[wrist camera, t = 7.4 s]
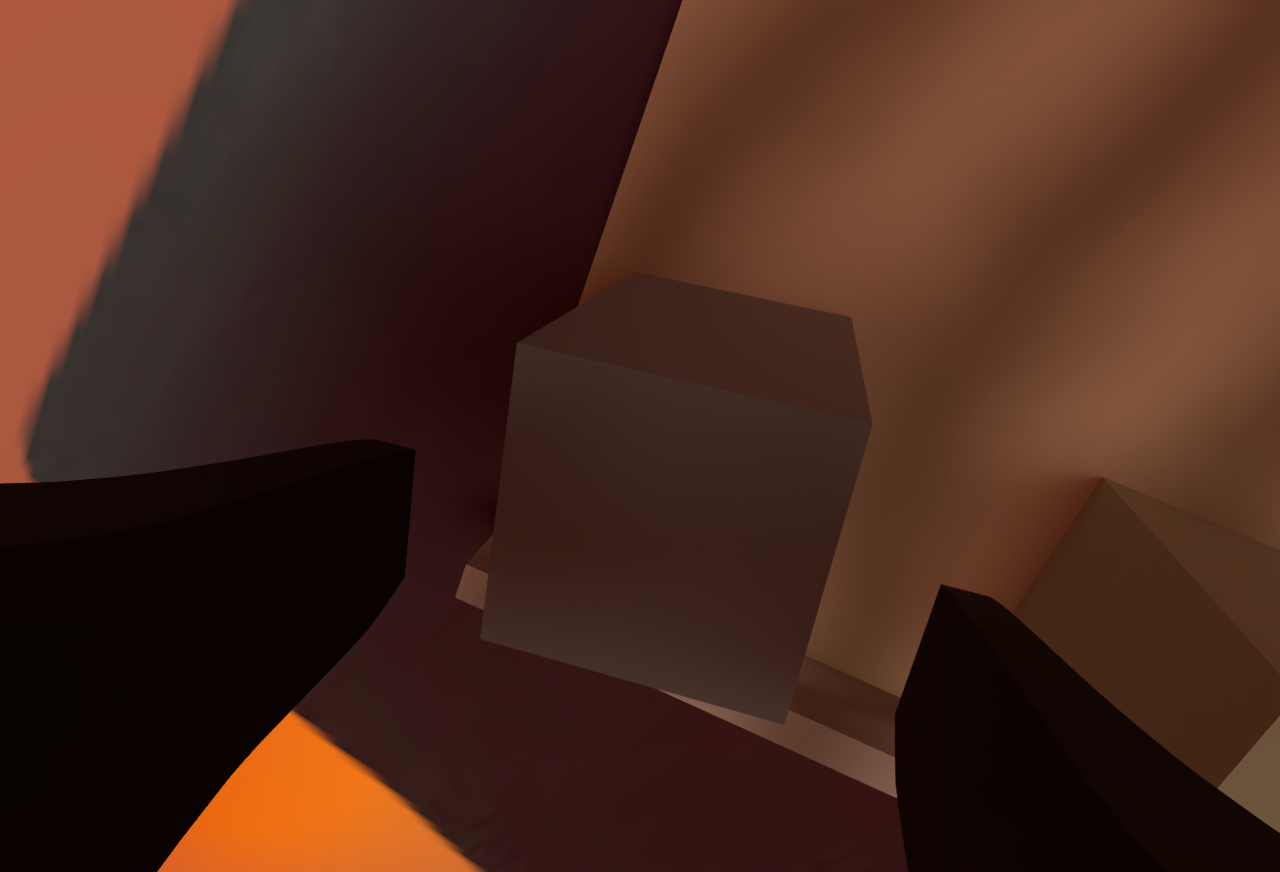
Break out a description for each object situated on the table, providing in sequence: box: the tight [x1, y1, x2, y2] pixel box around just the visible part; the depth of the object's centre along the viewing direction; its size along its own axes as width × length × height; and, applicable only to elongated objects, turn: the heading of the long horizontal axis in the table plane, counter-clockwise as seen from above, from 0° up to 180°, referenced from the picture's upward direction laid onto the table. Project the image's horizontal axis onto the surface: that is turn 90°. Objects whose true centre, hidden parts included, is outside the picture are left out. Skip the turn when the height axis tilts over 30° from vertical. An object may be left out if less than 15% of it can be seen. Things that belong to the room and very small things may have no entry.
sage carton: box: [1013, 477, 1280, 833], centre depth 15 cm, size 5×5×8 cm
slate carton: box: [480, 272, 873, 725], centre depth 16 cm, size 5×5×8 cm
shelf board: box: [455, 0, 1280, 798], centre depth 17 cm, size 19×22×4 cm
